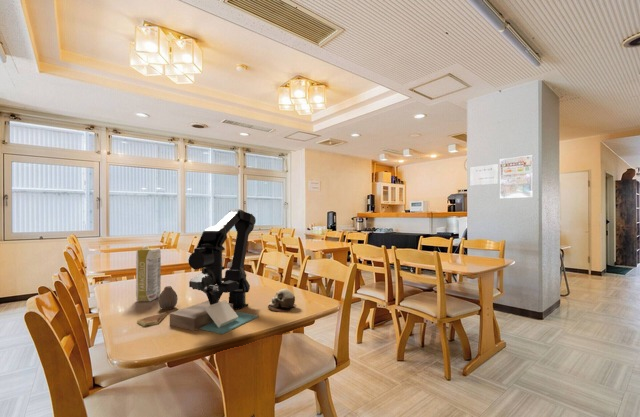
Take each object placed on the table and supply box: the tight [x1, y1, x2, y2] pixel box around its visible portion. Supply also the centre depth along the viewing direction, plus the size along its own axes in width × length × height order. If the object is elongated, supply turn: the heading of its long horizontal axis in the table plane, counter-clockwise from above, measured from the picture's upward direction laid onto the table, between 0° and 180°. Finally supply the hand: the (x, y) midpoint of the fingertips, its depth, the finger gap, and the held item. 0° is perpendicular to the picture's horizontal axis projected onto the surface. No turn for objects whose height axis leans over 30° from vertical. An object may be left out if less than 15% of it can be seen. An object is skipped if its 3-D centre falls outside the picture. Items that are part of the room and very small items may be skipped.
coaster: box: [206, 300, 239, 328], centre depth 104 cm, size 8×8×2 cm
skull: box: [267, 288, 298, 313], centre depth 122 cm, size 12×10×10 cm
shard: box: [136, 311, 168, 327], centre depth 108 cm, size 11×8×2 cm
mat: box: [199, 311, 259, 335], centre depth 105 cm, size 18×10×1 cm, turn 153°
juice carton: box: [135, 245, 162, 302], centre depth 135 cm, size 9×8×24 cm
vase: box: [158, 285, 178, 311], centre depth 122 cm, size 7×7×9 cm
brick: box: [169, 299, 234, 332], centre depth 109 cm, size 18×12×4 cm, turn 153°
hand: (213, 308), depth 106 cm, fingers closed
